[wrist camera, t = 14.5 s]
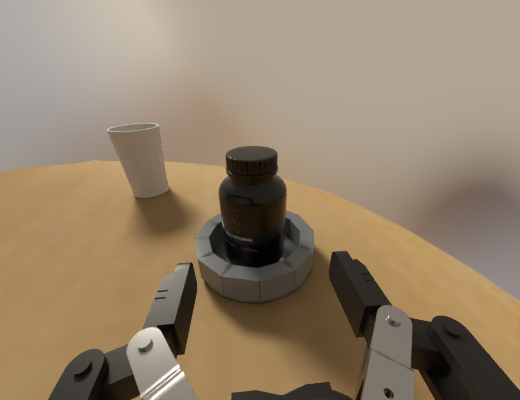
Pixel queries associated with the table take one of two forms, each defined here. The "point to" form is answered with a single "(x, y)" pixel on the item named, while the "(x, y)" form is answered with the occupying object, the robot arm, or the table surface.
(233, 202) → the supplement bottle
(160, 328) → the robot arm
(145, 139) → the cup
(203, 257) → the dish
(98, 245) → the table surface
